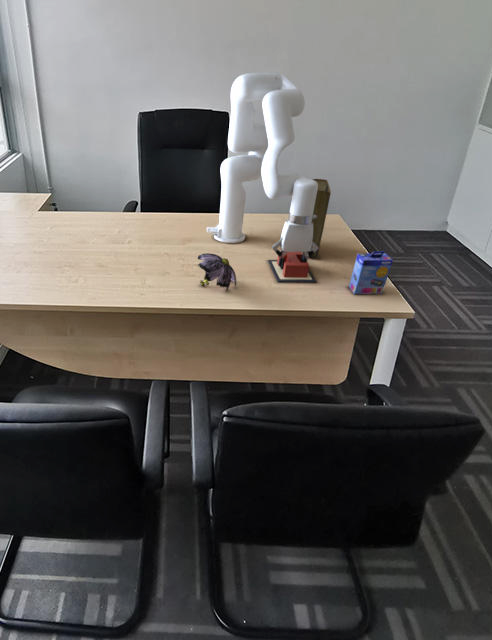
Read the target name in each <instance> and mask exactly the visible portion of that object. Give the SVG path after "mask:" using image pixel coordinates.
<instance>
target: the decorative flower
mask: <svg viewBox="0 0 492 640" xmlns="http://www.w3.org/2000/svg"><path fill="white" fill-rule="evenodd" d="M197 260H201V262H199V263H198V264H197V266H198V267H199V269H201V270H203V271H204V273H205V274H204V276H203V280H202V279H201V280H199V283H200V286H202V287H204V286H205V285H206V286H209V285H210V282H213V281H214V280H216V279H217V280H216V286H219V288H226V289H225V292H228V290H229V289H230V286H231V282H232V283H233V282H234V288H236V287H237V276H236V272H235V270H234V268H233V267H232V266H231V264H230V261H229V260H228V258H225V257H223V258H222V257H221V256H220V255H218V254H215V253H209V252H208V253H201V254H199V255H198V256H197Z"/></svg>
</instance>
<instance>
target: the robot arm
mask: <svg viewBox="0 0 492 640" xmlns="http://www.w3.org/2000/svg"><path fill="white" fill-rule="evenodd" d="M253 102H261V107H262V113H263V119H264V124H263V123H260V122H255V118H256V110H255V107H254V104H253ZM305 105H306V102H305V97H304V94H303V92H302V90H301V89H299V87H298V86H297V85H296V84H294V83H293V82H292V81H291V80H290V79H289V78H288V77H286V76H285V75H284V74H283V73H280V72H277V71H276V72H274V71H273V72H272V71H271V72H249V73H243V74H241V75H239V76H238V77H236V78H235V80H234V81H233V83H232V85H231V89H230V116H229V117H230V118H229V128H228V135H227V148H228V149H229V151H230V152H232V153H233V154H242V155H234V156H230V157H227V158H225V159H223V161H222V162H221V164H220V169H219V170H220V181H221V183H220V184H221V185H220V186H221V189H220V190H221V191H220V205H219V206H220V207H219V217H218V218H219V219H218V224H216V226H214V227H211V226H210V227H206V232H207V233H209V234H211V235H213V238H214V240H216V241H218V242H221V243H225V244H226V243H227V244H238V243H241V242H244V240H245V239H246V234H245V233H243V225H244V218H245V217H244V215H245V208H246V207H245V206H246V198H247V197H246V190H245V188H244V186H243V183H244V182H251V181H252V182H253V181H256V180H259V179H261V180H262V185H263V186H262V187H263V190H264V193H265V195H266V196H267V197H268V199H270V200H273V201H276V200H283V199H284V200H285V199H290V198H291V200H290V206H289V214H288V219H286V220H285V222H284V224H283V227H282V230H281V234H280V239H279V240H278V241H277V242H275V243H274V244H272V246H271V248H272V250H273V251H274V252H275V254H276V255H277V257H278V256H279V263H278V265H279V266H280V268H281V270H283V268H284V262H285V259H284V256H285V255H286V254H287V252H303V254H304V255H303V256H302V258H301V263H308V260H309V259H310V258H311V257H310V256H311V255H312V254H314V252H316V251H317V250H318V249H319V250H320V248H319V247H318V246H317V245H316V244H315V243H314V242H313V241H312V239H313V222H312V220H314V219H316V218H317V215H313V211H314V206H315V200H316V195H317V190H318V183H317V182H316V181H314V180H312V178H311V179H310V178H307V177H305V176H304V175H303V174H301V173H298V172H297V173H296V172H292V173H287V174H280V175H279V170H278V161H279V157H280V155H281V153H282V152H283V150H285V149H286V148H287V147H289V146H290V145H291V144H293V142H295V138H296V136H295V130H294V123H293V118H295V117H299V116H300V115H301V114H302V113H303V112H304V109H305ZM243 153H248V154H243ZM311 246H312V247H313V248H312V249H311ZM279 247H280V248H281V250H279V249H278V248H279Z"/></svg>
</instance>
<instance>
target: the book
mask: <svg viewBox="0 0 492 640" xmlns="http://www.w3.org/2000/svg"><path fill="white" fill-rule="evenodd" d="M311 180H314V181H316V182H317V183H318V190H317V195H316V200H315V206H314V211H313V215H317V218H316V219H314V220H312V222H313V239H312V241H313V242H314V243H315V244H316V245H317V246H318V247H319V249H318V250H317V251H316V252H314V254H312V255H311V256H310V257H309V258H313V259H318V257H319V252H320V249H321V244H322V243H321V242H322V238H323V234H324V228H325V224H326V223H325V222H326V218H327V213H328V208H329V203H330V199H331V194H332V190H331V188H330V185H329V181H328V179H323V178H311ZM312 248H313V247H312V246H311V249H312ZM301 253H302V254H303V252H301ZM303 255H304V254H303ZM303 255H302V256H303Z"/></svg>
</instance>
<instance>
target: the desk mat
mask: <svg viewBox="0 0 492 640" xmlns="http://www.w3.org/2000/svg"><path fill="white" fill-rule="evenodd" d="M267 262H268V264H269V266H270V268H271V271H272V273H273V276H274V277H275V279H276V281H277V283H298V284H299V283H304V284H305V283H309V284H310V283H311V284H313V283H317V280H316V279H315V277H314V275H313V274H312V272H311V270H310V269H309V270H308V275H307V278H298V277H283V270H281V268H280V266H278V264H277V259H268V260H267Z"/></svg>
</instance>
